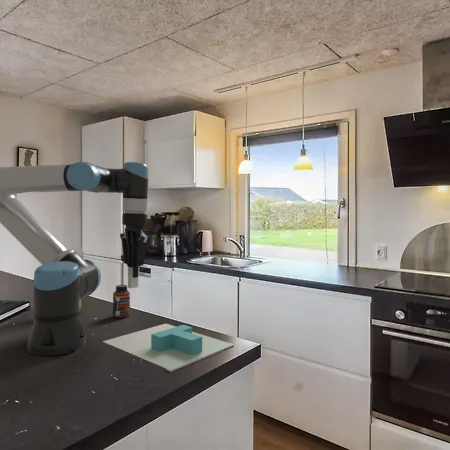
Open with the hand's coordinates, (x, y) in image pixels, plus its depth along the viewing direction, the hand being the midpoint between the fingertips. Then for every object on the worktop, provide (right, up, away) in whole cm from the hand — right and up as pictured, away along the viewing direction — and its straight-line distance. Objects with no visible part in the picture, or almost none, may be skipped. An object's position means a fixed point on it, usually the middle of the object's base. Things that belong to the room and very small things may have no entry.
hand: (132, 287), depth 121 cm
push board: (+12, -15, -10) cm, 22 cm away
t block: (+17, -15, -13) cm, 26 cm away
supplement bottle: (-9, -14, +19) cm, 25 cm away
